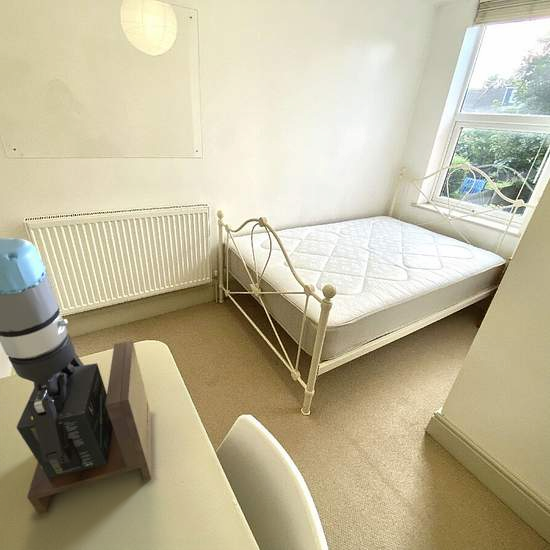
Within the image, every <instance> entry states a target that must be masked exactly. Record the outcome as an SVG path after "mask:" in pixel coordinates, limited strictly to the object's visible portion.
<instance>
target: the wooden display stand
mask: <svg viewBox="0 0 550 550" xmlns="http://www.w3.org/2000/svg"><path fill="white" fill-rule="evenodd" d="M110 364H111V365H110V369H109V371H110V372H109V377H108V383H107V384H108V385H107V390H106V393H107V397H106V404H105V405H106V408H107V411H108V414H109V417H110V420H111V423H112V432H111V439H110V446H109V453H108V459H107V464H106V465H102V466H98V467H94V468H90V469H86V470H82V471H78V472H74V473H70V474H65V475H61V476H57V477H53V478H49V479H48V478H47V476H46V474H45V472H44V471H43V469H42V467H41V466H40V464H39V462H38V461H37V464H36V467H35V471H34V473H33V477H32V479H31V482H30V486H29V490H28V492H27V497H26V498H27V500H28V501H29V503H30V504H31V505H32V507H33V508H34V510H35V511H36V513H37V514H38V515H41V514H45V513H47V512H48V510H49V509H48V508H49V505H50V500H51V496H52V495H55V494H57V493H61V492H64V491H69V490H71V489H74V488H78V487H82V486H85V485H87V484H91V483H95V482H98V481H102V480H105V479H108V478H111V477H115V476H119V475H121V474H125V473H128V472H131V471H134V470H138V469H140V470H141V474H142V477H143V481H144V482H147V481H151V480H152V414H151V410H150V404H149V401H148V397H147V393H146V389H145V385H144V380H143V377H142V373H141V369H140V365H139V361H138V356H137V353H136V348H135V344H134V340H129V341H122V342H117V343H114V344H113V350H112V357H111V363H110Z"/></svg>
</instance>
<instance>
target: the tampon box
mask: <svg viewBox="0 0 550 550" xmlns="http://www.w3.org/2000/svg"><path fill="white" fill-rule="evenodd" d="M66 391H67V400H66V401H65V402H64V408H63V411H62V412H61V413H57V417H58V421H59V424H62V423H64V425H65V428H66V430H67V432H68V439H70V438H72V440H73V442H74V444H75V446H76V449H77V451H78V453H79V455H80V457H81V459H82V461H83V462H82V466H80V467H77V468H73V469H70V470H66V471H63V470H62V468H61V466H60V465H59V463H58V461H57V459H52V460H48V461H43V458H42V453H41V449H40V445H39V441H38V437H37V433H36V429H35V425H34V421H33V417H32V415H31V413H30V411H29V410H28V402H29V401H33V400H36V398H37V393H36V391H35V388H33V390H32V392H31V394H30V395H29V398H28V400H27V403H26V404H25V407H24V408H23V411H22V414H21V416H20V418H19V420H18V422H17V425H16V427H15V428H16V429H17V431H18V432H19V434H20V436H21V438H22V439H23V441H24V442H25V443H26V446H27V447H28V448H29V450H30V452H31V453H32V454H33V456H34V458H35V460H36V461H37V463H38V462H39V464H40V466H41V467H42V469H43V471H44V472H45V474H46V476H47V478H48V479H49V478H53V477H57V476H61V475H65V474H70V473H74V472H78V471H82V470H86V469H90V468H94V467H98V466H102V465H106V464H107V459H108V453H109V446H110V439H111V432H112V423H111V420H110V417H109V414H108V411H107V408H106V405H105V404H106V397H107V389H106V387H105V383H104V380H103V378H102V374H101V371H100V368H99V364H98V363H97V362H96V363H95V362H94V363H89V364H84V365H83V366H77V367H74V374H72V375H70V376H67V383H66ZM59 397H60V394H59V395H56V396H52V397H51V399H55V398H59Z"/></svg>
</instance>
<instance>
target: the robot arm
mask: <svg viewBox="0 0 550 550" xmlns="http://www.w3.org/2000/svg"><path fill="white" fill-rule="evenodd" d="M67 326H68V319H66V318H63V316H62V313H61V310H60V307H59V304H58V302H57V299H56V297H55V293H54V290H53V288H52V285H51V282H50V279H49V276H48V274H47V268H46V265H45V262H44V261H43V260H42V258H41V256H40V254H39V252H38V250H37V248H36V246H35V245H34V244H33V243H32V242H30V241H29V240H26V239H23V238H15V239H14V238H11V237H8V238H0V344H1V347H2V349H3V351H4V353H5V355H6V356H7V357H8V360H9V362H10V364H11V366H12V368H13V369H14V372H15V374H16V375H17V376H18V377H19V378H21V379H24V380H27V381H30V382H31V383H33V387H34V388H35V391H36V393H37V398H36V400H33V401H29V402H28V401H27V403H28V410H29V411H30V413H31V415H32V417H33V421H34V425H35V429H36V433H37V437H38V441H39V445H40V449H41V453H42V458H43V461H48V460H52V459H57V461H58V463H59V465H60V466H61V468H62V470H63V471H66V470H70V469H73V468H77V467H80V466H82V462H83V461H82V459H81V457H80V455H79V453H78V451H77V449H76V446H75V444H74V442H73V440H72V438H70V439H68V432H67V430H66V428H65V425H64V423H62V424H59V421H58V417H57V413H61V412H62V411H63V408H64V402H65V401H66V400H67V391H66V383H67V376H70V375H72V374H74V367H77V366H83V365H85V364H84V363H83V361H82V360H81V359H80V357H79V356H78V355H77V353H76V349H75V347H74V344H73V341H72V339H71V336H70V334H69V333H68V330H67ZM34 388H33V389H34ZM59 394H60V397H59V398H55V399H51V397H52V396H56V395H59Z"/></svg>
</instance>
